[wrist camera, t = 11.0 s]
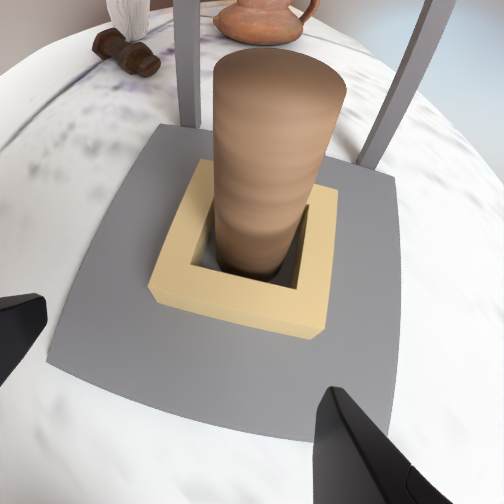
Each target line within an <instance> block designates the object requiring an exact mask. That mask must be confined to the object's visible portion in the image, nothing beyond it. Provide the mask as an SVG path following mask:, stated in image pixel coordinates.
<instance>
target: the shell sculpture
mask: <svg viewBox="0 0 504 504" xmlns="http://www.w3.org/2000/svg"><path fill="white" fill-rule="evenodd" d="M106 2H107V9H108V12H109V15H110V18H111V21H112V23H113V26H114V28H117V29H118V30H119V31H120V32H121V33H122V34H123V35H124V36H125V37H126V40H125V41H127V42H130V41H136V40H139V39H142V38H144V37H145V36H146V34H147V28H148V18H149V9H150V0H141V1H140V0H119V1H118V0H106ZM139 4H140V7H139ZM131 25H132V26H131ZM131 37H132V38H133V39H131Z"/></svg>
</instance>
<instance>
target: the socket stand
mask: <svg viewBox="0 0 504 504" xmlns="http://www.w3.org/2000/svg"><path fill="white" fill-rule="evenodd" d="M455 2H456V0H425V2H424V5H423V8H422V10H421V13H420V16H419V18H418V21H417V24H416V26H415V29H414V31H413V34H412V36H411V39H410V41H409V44H408V46H407V49H406V51H405V53H404V56H403V59H402V61H401V63H400V66H399V68H398V70H397V73H396V75H395V77H394V80H393V82H392V84H391V87H390V89H389V91H388V93H387V96H386V98H385V100H384V102H383V105H382V107H381V109H380V111H379V114H378V116H377V118H376V120H375V122H374V125H373V127H372V129H371V131H370V133H369V135H368V137H367V140H366V142H365V144H364V146H363V148H362V150H361V152H360V154H359V156H358V158H357V165H355V164H352V163H349V162H345V161H342V160H338V159H335V158H331V157H328V156H324V158H323V160H322V163H321V166H320V168H319V171H318V174H317V176H316V179H315V182H314V185H313V187H312V190H311V192H310V195H309V198H308V200H307V203H306V206H305V208H304V211H303V213H302V216H301V219H300V221H299V224H298V226H297V229H296V231H295V234H294V237H293V239H292V242H291V244H290V247H289V249H288V252H287V254H286V257H285V259H284V262H283V264H282V267H281V269H280V271H279V272H278V274H277V275H276V276H275V277H274V278H273V279H271V280H270V281H268V282H266V283H265V282H261V281H256V280H252V279H248V278H244V277H239V276H235V275H231V274H227V273H223V272H222V271H221V269H220V267H219V265H218V263H217V258H216V237H215V207H214V163H213V131H208V130H202V129H199V127H200V125H201V102H200V0H173V16H174V40H175V59H176V74H177V88H178V101H179V113H180V124H181V126H174V125H166V124H160V125H159V126H158V127H157V129H156V130H155V132H154V133H153V135H152V136H151V138H150V140H149V141H148V143H147V144H146V146H145V147H144V149H143V150H142V152H141V154H140V155H139V157H138V158H137V160H136V162H135V163H134V165H133V167H132V168H131V170H130V172H129V173H128V175H127V177H126V179H125V180H124V182H123V184H122V185H121V187H120V189H119V191H118V193H117V194H116V196H115V198H114V200H113V202H112V204H111V205H110V207H109V209H108V211H107V213H106V215H105V217H104V219H103V221H102V223H101V225H100V227H99V229H98V231H97V233H96V235H95V237H94V239H93V241H92V243H91V245H90V247H89V249H88V252H87V254H86V256H85V258H84V260H83V263H82V265H81V267H80V269H79V272H78V274H77V276H76V279H75V281H74V284H73V286H72V289H71V291H70V294H69V296H68V299H67V301H66V304H65V306H64V309H63V312H62V314H61V317H60V320H59V323H58V326H57V329H56V331H55V334H54V337H53V340H52V344H51V347H50V350H49V353H48V356H47V360H46V362H47V363H49V364H51V365H53V366H55V367H57V368H59V369H61V370H63V371H65V372H67V373H69V374H71V375H73V376H75V377H77V378H79V379H82V380H84V381H86V382H88V383H90V384H93V385H95V386H97V387H100V388H102V389H104V390H107V391H109V392H112V393H114V394H117V395H119V396H122V397H124V398H127V399H130V400H132V401H135V402H138V403H141V404H144V405H146V406H149V407H152V408H155V409H158V410H161V411H164V412H168V413H171V414H174V415H178V416H181V417H184V418H188V419H191V420H195V421H199V422H203V423H207V424H210V425H215V426H219V427H223V428H227V429H232V430H237V431H241V432H246V433H252V434H257V435H263V436H269V437H275V438H281V439H288V440H296V441H304V442H313V443H314V434H315V422H316V411H317V407H318V405H319V403H320V401H321V399H322V397H323V395H324V393H325V391H326V389H327V388H328V387H329V386H335V387H341V388H343V389H344V390H345V391H346V392H347V393H348V394H349V395H350V396H351V397H352V399H353V400H354V401H355V402H356V403H357V404H358V405H359V406H360V408H361V409H362V410H363V411H364V412H365V413H366V414H367V415H368V417H369V418H370V419H371V420H372V421H373V422H374V423H375V424H376V425H377V427H378V428H379V429H380V430H381V431H382V432H383V433H384V434H385V435H386V436H387V435H388V430H389V424H390V418H391V412H392V405H393V398H394V390H395V382H396V373H397V363H398V351H399V337H400V316H401V254H400V233H399V218H398V206H397V195H396V186H395V178H394V177H393V176H390V175H387V174H384V173H381V172H378V171H375V168H376V166H377V164H378V163H379V161H380V159H381V157H382V155H383V154H384V152H385V150H386V148H387V146H388V144H389V143H390V141H391V139H392V137H393V135H394V133H395V131H396V129H397V128H398V126H399V124H400V122H401V120H402V118H403V116H404V114H405V112H406V110H407V108H408V106H409V104H410V102H411V100H412V98H413V96H414V94H415V92H416V90H417V88H418V86H419V84H420V82H421V80H422V78H423V76H424V73H425V71H426V69H427V67H428V65H429V63H430V61H431V59H432V56H433V54H434V52H435V50H436V48H437V45H438V43H439V40H440V38H441V36H442V34H443V32H444V29H445V27H446V25H447V22H448V20H449V17H450V15H451V12H452V10H453V7H454V5H455Z"/></svg>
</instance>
